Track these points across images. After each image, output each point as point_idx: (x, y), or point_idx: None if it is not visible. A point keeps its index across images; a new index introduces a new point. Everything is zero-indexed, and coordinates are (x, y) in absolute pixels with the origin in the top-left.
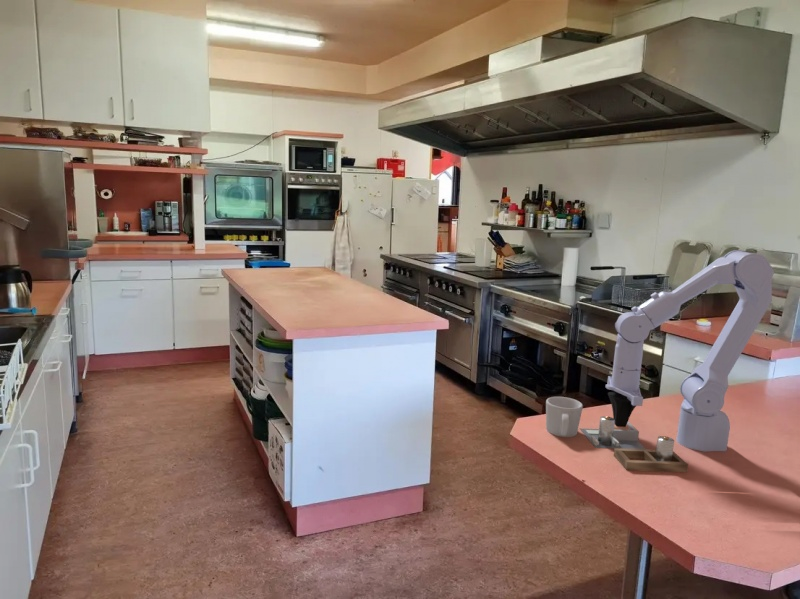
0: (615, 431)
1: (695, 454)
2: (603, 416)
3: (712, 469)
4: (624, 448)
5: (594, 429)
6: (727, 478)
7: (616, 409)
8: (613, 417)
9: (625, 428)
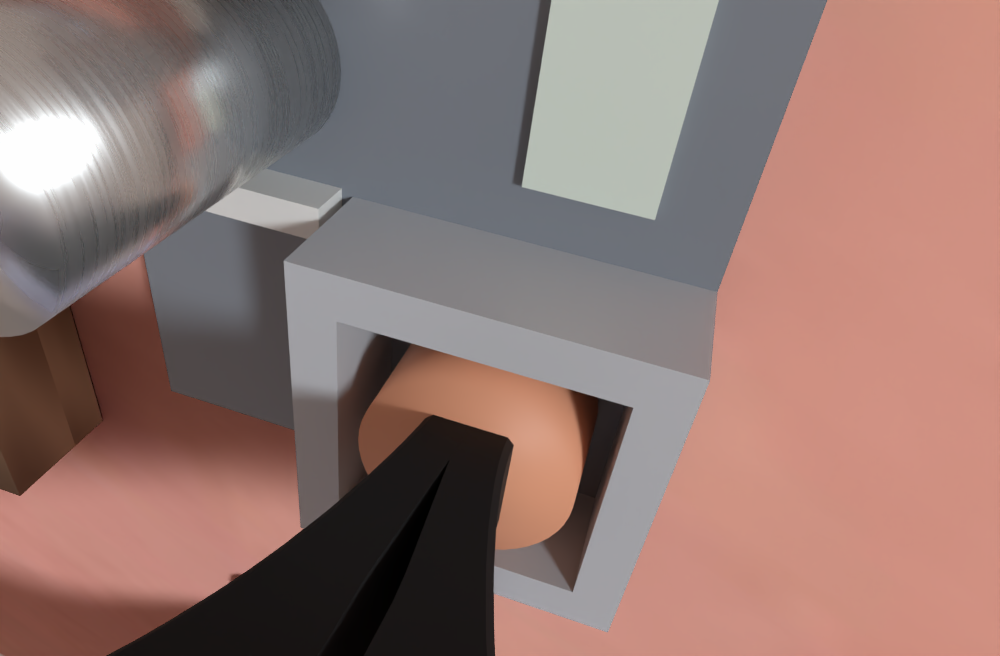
0: (294, 300)
1: None
2: (21, 195)
3: (94, 559)
4: None
5: (733, 191)
6: (8, 540)
7: (221, 607)
8: (490, 500)
9: (364, 461)
